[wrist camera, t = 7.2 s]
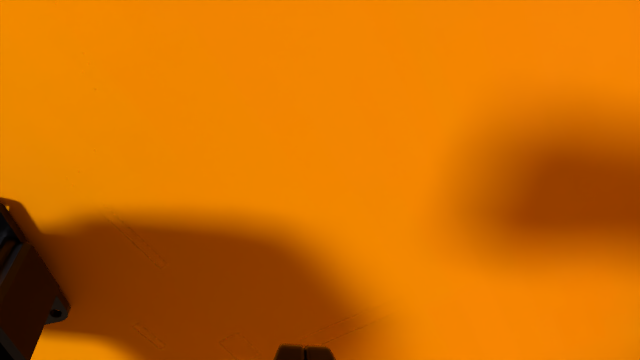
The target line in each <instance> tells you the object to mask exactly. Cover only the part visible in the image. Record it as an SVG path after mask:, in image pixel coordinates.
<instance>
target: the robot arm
mask: <svg viewBox="0 0 640 360" xmlns="http://www.w3.org/2000/svg"><path fill="white" fill-rule="evenodd" d="M70 308H71V307H70V304H69V303H68V301H67V300H66V298H65V297H64V295H63V294H62V292H61V291H60V289H59V285H58V284H57V282H56V281H55V279H54V278H53V276H52V275H51V273H50V272H49V270H48V268H47V267H46V265H45V264H44V262H43V261H42V259H41V258H40V256H39V255H38V253H37V252H36V250H35V249H34V247H33V246H32V245H31V244H30V243H29V242H28V241H27V239H26V238H25V236H24V234H23V233H22V231H21V230H20V228H19V227H18V225H17V224H16V222H15V221H14V219H13V218H12V216H11V215H10V213H9V212H8V210H7V209H6V207H5V206H4V205H3V204H2V203H0V360H30V359H31V357H32V354H33V352H34V349H35V347H36V344H37V342H38V339H39V337H40V335H41V332H42V330H43V327H44V325H46V324H50V323H55V322H59V321H63V320H65V319H66V318H67V317H68V314H69V311H70ZM55 309H57V310H60V311H57V310H55ZM274 360H336V359H335V357H334V356H333V354H332V352H331V350H330V349H329V348H328V347H326V346H315V345H307V346H305V347H304V348H303V346H302V345H297V344H281V345H280V346H279V348H278V350H277V353H276V355H275V358H274Z"/></svg>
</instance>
